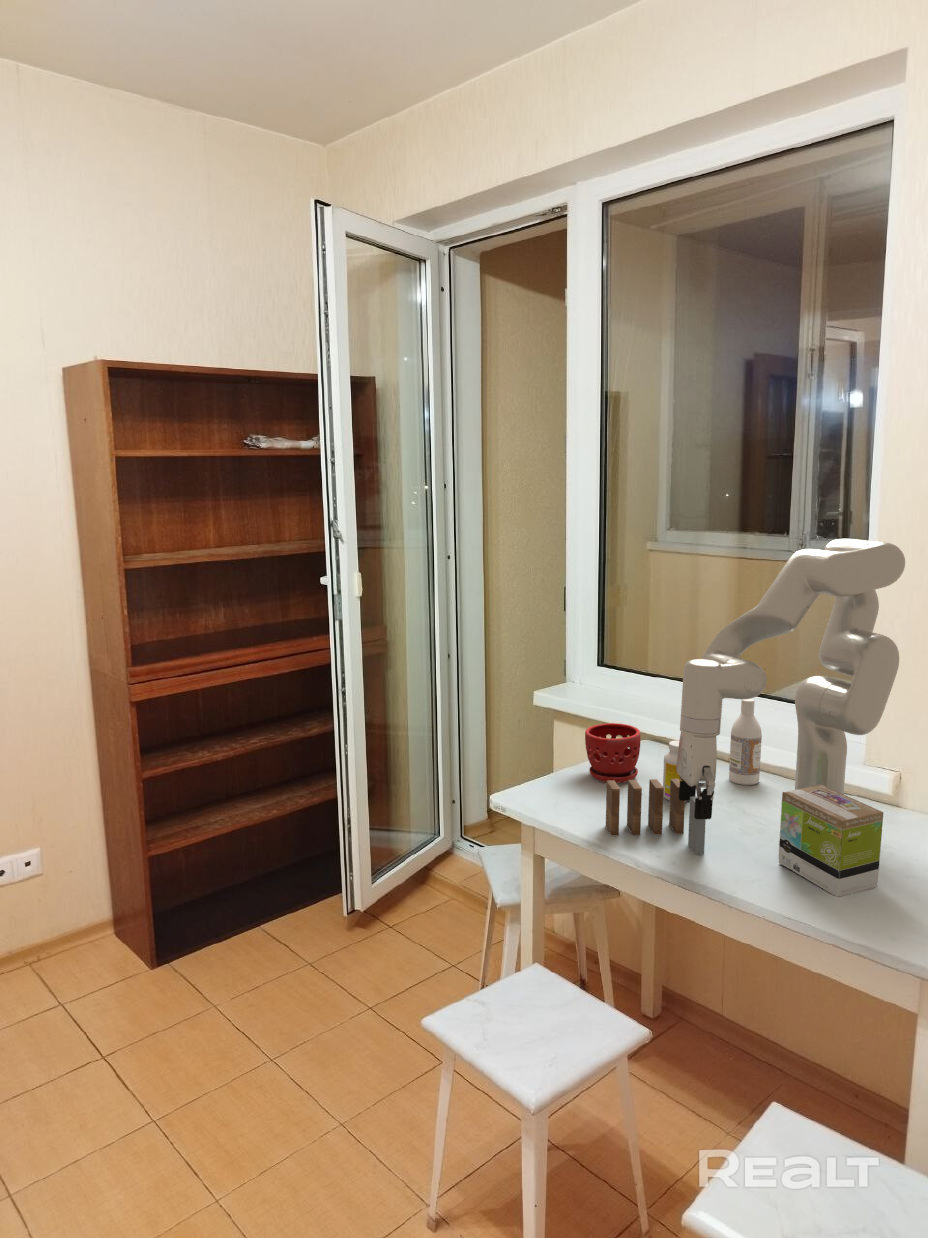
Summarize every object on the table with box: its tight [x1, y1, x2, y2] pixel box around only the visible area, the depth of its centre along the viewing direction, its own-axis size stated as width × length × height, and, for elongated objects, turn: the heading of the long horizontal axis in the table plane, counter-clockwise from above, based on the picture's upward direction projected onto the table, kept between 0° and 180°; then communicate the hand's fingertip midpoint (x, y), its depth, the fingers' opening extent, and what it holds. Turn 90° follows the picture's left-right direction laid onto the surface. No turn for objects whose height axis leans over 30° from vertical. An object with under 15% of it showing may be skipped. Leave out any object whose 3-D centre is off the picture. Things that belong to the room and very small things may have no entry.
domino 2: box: [626, 779, 643, 836], centre depth 185 cm, size 2×5×10 cm, turn 4°
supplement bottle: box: [662, 740, 688, 803], centre depth 202 cm, size 7×7×13 cm
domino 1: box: [605, 780, 621, 836], centre depth 185 cm, size 2×5×10 cm, turn 3°
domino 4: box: [668, 779, 686, 835], centre depth 185 cm, size 2×5×10 cm, turn 4°
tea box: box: [778, 784, 884, 898], centre depth 163 cm, size 15×10×15 cm, turn 23°
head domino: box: [687, 795, 707, 856], centre depth 175 cm, size 2×5×10 cm, turn 3°
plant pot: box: [584, 722, 642, 785], centre depth 216 cm, size 13×13×12 cm
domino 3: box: [647, 778, 664, 835], centre depth 185 cm, size 2×5×10 cm, turn 4°
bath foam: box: [728, 698, 763, 786], centre depth 213 cm, size 7×7×20 cm
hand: (694, 809), depth 175 cm, fingers open, 9 cm apart
